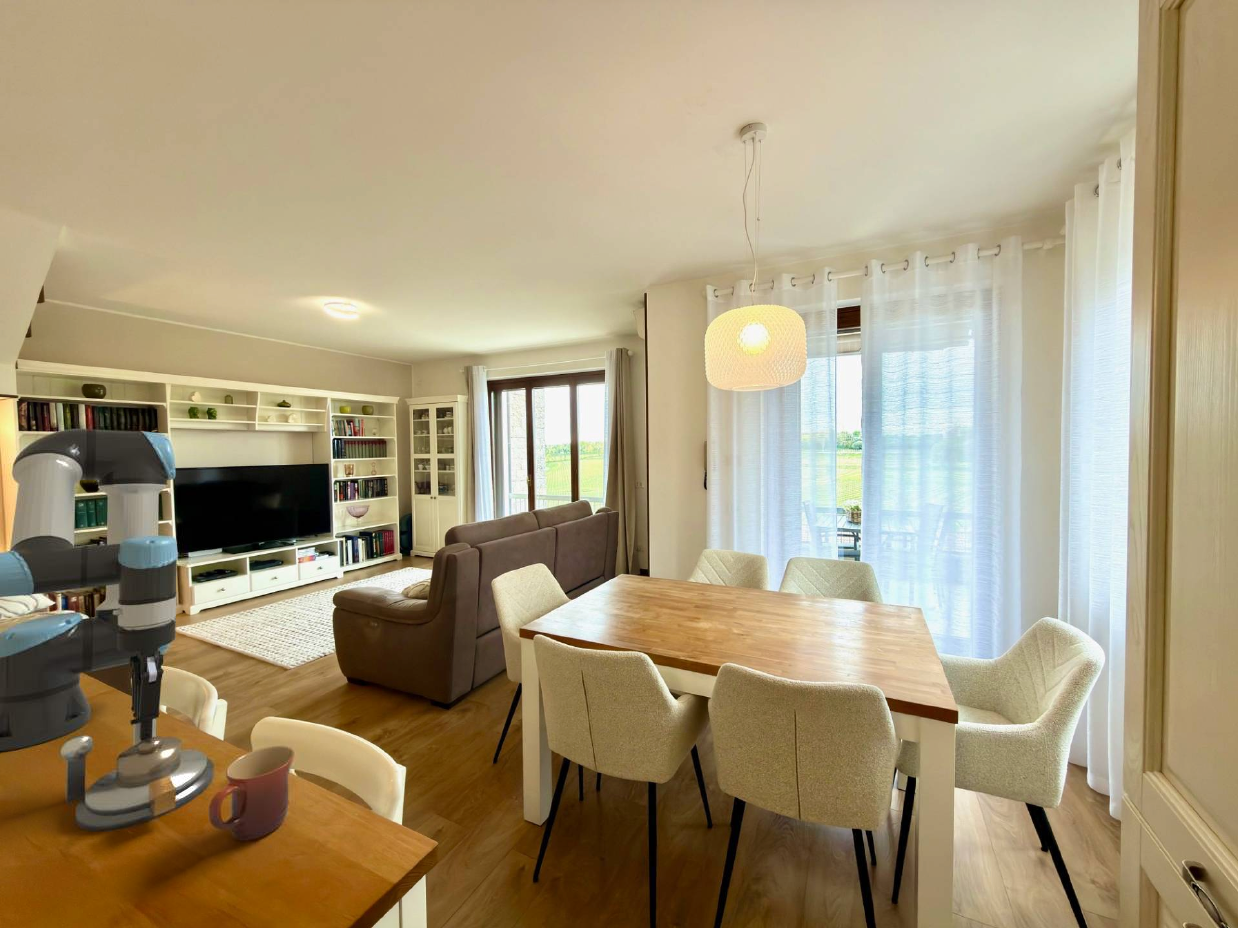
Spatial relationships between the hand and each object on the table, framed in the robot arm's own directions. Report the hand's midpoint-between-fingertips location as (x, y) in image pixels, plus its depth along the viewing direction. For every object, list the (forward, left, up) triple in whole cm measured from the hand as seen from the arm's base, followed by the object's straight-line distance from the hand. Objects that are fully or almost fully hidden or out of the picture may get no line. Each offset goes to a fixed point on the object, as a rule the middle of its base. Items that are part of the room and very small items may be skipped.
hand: (144, 754), depth 87 cm
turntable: (+8, 0, -3) cm, 9 cm away
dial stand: (-2, -8, -5) cm, 10 cm away
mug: (+30, +8, -5) cm, 31 cm away
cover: (+5, 0, -1) cm, 5 cm away
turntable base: (+6, 0, -5) cm, 7 cm away
